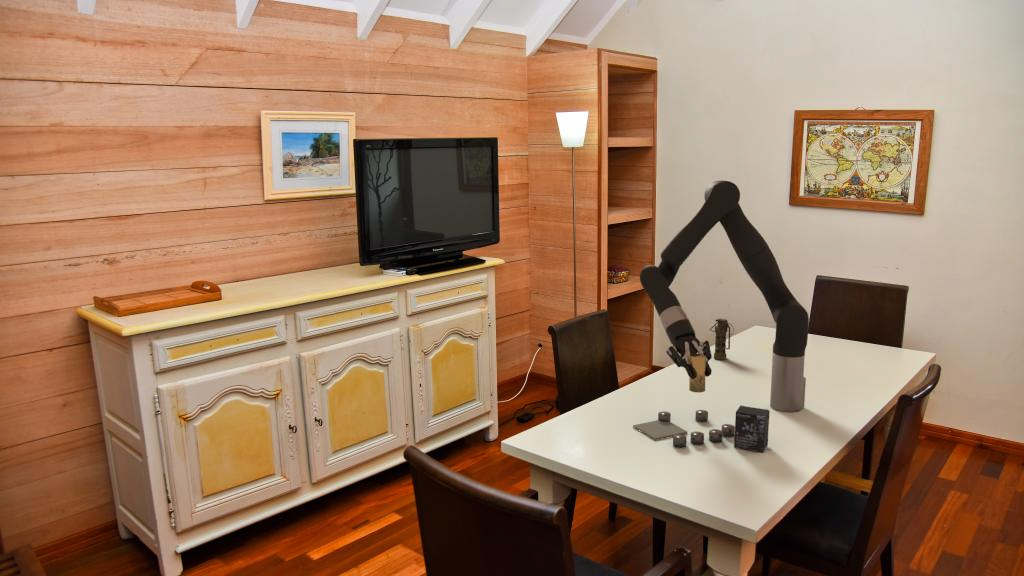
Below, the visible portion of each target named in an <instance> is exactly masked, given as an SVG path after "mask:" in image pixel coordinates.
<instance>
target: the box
mask: <svg viewBox="0 0 1024 576" xmlns="http://www.w3.org/2000/svg"><path fill="white" fill-rule="evenodd" d="M770 411H771V410H770V409H764V408H759V407H751V406H747V405H739V407H738V408H737V410H736V411H735V421H734V424H735V425H734V426H735V436H734V443H733V447H734V448H735V449H740V450H741V449H742V450H747V451H752V452H758V453H761V454H764V453H765V451H766V449H767V447H768V445H769V444H768V443H769V426H770Z"/></svg>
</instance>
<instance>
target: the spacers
mask: <svg viewBox="0 0 1024 576" xmlns="http://www.w3.org/2000/svg"><path fill="white" fill-rule="evenodd" d="M671 415H672V414H671V412H670V411H665V410H664V411H659V412H658V414H657V420H659V421H661V422H671V418H672V417H671ZM694 420H695V421H696V422H697V423H707V422H708V421H709V411H707V410H705V409H697V410H696V411H695V419H694ZM723 437H724V438H733V437H734V438H735V425H733V424H730V423H729V424H728V423H725V424H721V430H720V429H714V428H713V429H710V430H709V431H708V441H709V442H711V443H715V444H716V443H717V444H719V443H722V442H723ZM690 444H691V445H694V446H702V445H704V444H705V433H704V432H701V431H692V432H690ZM672 446H673V448H677V449H685V448H686V447H687V436H686V435H685V434H683V435H681V434H677V435H674V436H673V437H672Z"/></svg>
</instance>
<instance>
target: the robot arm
mask: <svg viewBox="0 0 1024 576" xmlns="http://www.w3.org/2000/svg"><path fill="white" fill-rule="evenodd" d="M703 196H704V202H703V204H702V206H701V208H700V209H699V211H697V213H696V214H695V215H694V216H693V218H692V219H691V220H689V222H688V223H687V224H685V225H684V226H683V227H682V228H681V229H680V230H679V231H678V233H676V234H675V235H674V237H672V239H671V240H670V241H669V243H667V245H666V246H665V248H664V249H663V250H662V252H661V253H660V258H661V261H660V263H659V264H658V266H656V265H653V264H649V265H646V266H644V267H643V268H642V269H641V271H640V273H639V281H640V284H641V286H642V288H643V290H644V291H645V293H646V295H647V296H648V297H649V299H650V300H651V302H652V304H653V305H654V308H655V311H656V313H657V314H658V316H659V318H660V322H661V324H662V327H663V329H664V331H665V333H666V335H667V338H668V340H669V342H670V343H671V344H672V346H669V347H668V348H667V350H666V351H665V352H666V354H667V356H668V357H669V358H670V359H671V360H672V362H673V363H674V364H675V366H676V367H678V368H684V369H685V372H686V374H687V375H688V377H690V378H691V379H695V378H696V377H697V374H696V372H695V370H694V368H693V366H692V364H691V362H690V355H691V354H703V355H705V356H706V376H705V378H706V377H710V376H711V375H712V371H713V370H712V368H711V366H710V364H709V361H710V360H711V359H712V358H713V357H712V350H711V345H710V342H709V340H705V341H700V339H698V338H697V336H696V331H695V329H694V327H693V325H692V323H691V321H690V319H689V317H688V315H687V313H686V312H685V310H684V309H683V307H682V304H681V302H680V301H679V299H678V297H677V295H676V294H675V293H674V292H673V291H672V290H671V288H670V286H671V285H672V283H673V281H674V280H675V278H676V275H678V272H679V269H680V267H681V266H682V265H683V264H684V262H686V260H687V259H689V257H690V255H691V254H692V253H693V251H695V249H696V248H697V247H698V245H699V244H700V243H701V241H702V240H703V239H704V238H705V237H706V236H707V234H709V233H710V231H711V230H712V229H713V228H714V227H715V226H716V225H717V224H718V223H720V224H721V226H722V228H723V230H724V231H725V233H726V235H727V238H728V240H729V242H730V245H731V246H732V248H733V250H734V251H735V254H736V256H737V258H738V260H739V262H740V263H741V265H742V267H743V269H744V271H745V272H746V273H747V275H748V276H749V278H750V279H751V281H752V282H753V283H754V284H755V286H756V287H757V288H758V290H759V291H760V292H761V295H762V296H763V298H764V300H765V302H766V304H767V307H768V308H769V311H770V314H771V316H772V318H773V321H774V322H775V337H774V342H773V344H772V359H771V361H772V362H771V376H770V377H771V383H770V402H769V404H770V405H769V406H770V408H772V409H773V410H776V411H779V412H785V413H786V412H787V413H788V412H791V413H793V412H799V411H801V410H802V408H805V401H806V383H807V379H806V377H805V376H804V375H805V374H804V373H805V356H806V349H807V346H808V338H809V337H808V336H809V326H810V319H809V313H808V311H807V310H806V308H805V307H804V306H803V305H802V304H801V303H800V302H799V301H798V300H797V298H796V297H795V296H794V295H793V293H792V292H791V290H790V289H789V287H788V286H787V284H786V282H785V281H784V278H783V276H782V273H781V272H782V271H781V270H780V266H779V264H778V262H777V259H776V257H775V255H774V253H773V251H772V250H771V249H770V248H771V247H770V246H769V245H768V243H767V242H766V240H765V238H764V237H763V236H762V234H761V233H760V232H759V231H758V230H757V228H755V226H754V225H753V224H752V223H751V222H750V220H749V219H748V217H746V215H745V213H744V211H743V209H742V207H741V205H740V203H739V202H740V199H741V192H740V188H739V186H737V184H735V182H732V181H730V180H722V179H721V180H720V179H719V180H715V181H712V182H711V183H710V184H708V185H707V187H706V188H705V191H704V195H703Z"/></svg>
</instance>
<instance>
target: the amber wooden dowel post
mask: <svg viewBox="0 0 1024 576" xmlns="http://www.w3.org/2000/svg"><path fill="white" fill-rule="evenodd" d="M690 362H691V364H692V366H693V368H694V370H695V372H696V374H697V377H696V378H695V379H691V378H690V377H689V376H688V377H689V381H688V383H689V385H688V391H690V392H692V393H703V392H705V391H706V356H705V355H703V354H698V353H697V354H691V355H690Z"/></svg>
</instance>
